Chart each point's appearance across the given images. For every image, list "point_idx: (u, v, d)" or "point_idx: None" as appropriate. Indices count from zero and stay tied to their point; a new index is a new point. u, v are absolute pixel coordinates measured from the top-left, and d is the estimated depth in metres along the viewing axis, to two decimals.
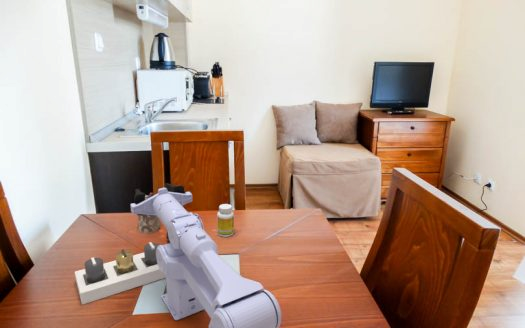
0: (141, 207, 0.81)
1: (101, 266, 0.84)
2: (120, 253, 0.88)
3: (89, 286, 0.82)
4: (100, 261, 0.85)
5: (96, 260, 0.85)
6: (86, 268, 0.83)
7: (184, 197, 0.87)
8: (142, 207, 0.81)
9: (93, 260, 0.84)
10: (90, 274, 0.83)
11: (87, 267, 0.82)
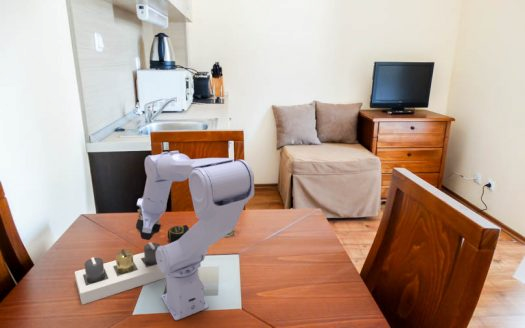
0: (147, 221, 0.83)
1: (101, 266, 0.84)
2: (120, 253, 0.88)
3: (89, 286, 0.82)
4: (100, 261, 0.85)
5: (96, 260, 0.85)
6: (86, 268, 0.83)
7: None
8: (148, 220, 0.83)
9: (93, 260, 0.84)
10: (90, 274, 0.83)
11: (87, 267, 0.82)
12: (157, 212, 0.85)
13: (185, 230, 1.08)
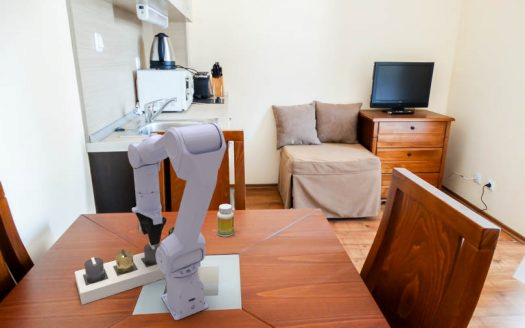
0: (154, 214, 0.84)
1: (101, 266, 0.84)
2: (120, 253, 0.88)
3: (89, 286, 0.82)
4: (100, 261, 0.85)
5: (96, 260, 0.85)
6: (86, 268, 0.83)
7: None
8: (153, 214, 0.84)
9: (93, 260, 0.84)
10: (90, 274, 0.83)
11: (87, 267, 0.82)
12: (156, 206, 0.87)
13: None
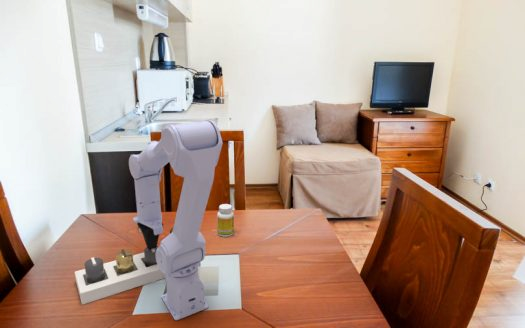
0: (154, 225, 0.85)
1: (101, 266, 0.84)
2: (120, 253, 0.88)
3: (89, 286, 0.82)
4: (100, 261, 0.85)
5: (96, 260, 0.85)
6: (86, 268, 0.83)
7: None
8: (154, 224, 0.85)
9: (93, 260, 0.84)
10: (90, 274, 0.83)
11: (87, 267, 0.82)
12: (157, 216, 0.88)
13: None
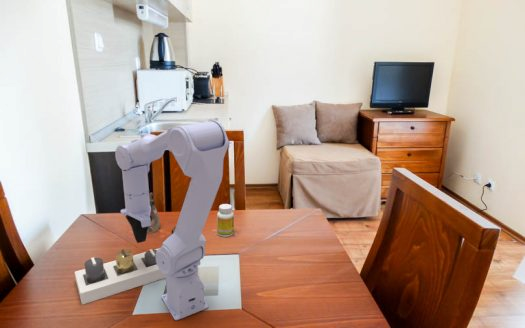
0: (142, 217, 0.83)
1: (101, 266, 0.84)
2: (120, 253, 0.88)
3: (89, 286, 0.82)
4: (100, 261, 0.85)
5: (96, 260, 0.85)
6: (86, 268, 0.83)
7: None
8: (142, 216, 0.83)
9: (93, 260, 0.84)
10: (90, 274, 0.83)
11: (87, 267, 0.82)
12: (146, 209, 0.85)
13: None
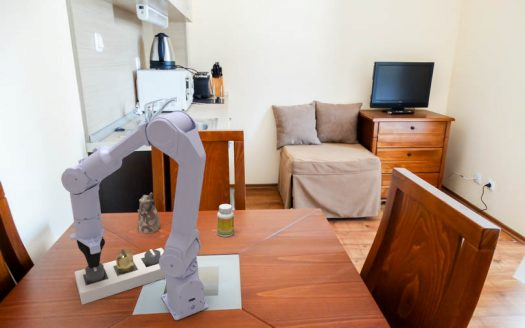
0: (92, 243, 0.78)
1: (102, 271, 0.84)
2: (120, 253, 0.88)
3: (89, 286, 0.82)
4: (101, 266, 0.85)
5: None
6: (87, 273, 0.83)
7: None
8: (92, 242, 0.78)
9: None
10: (91, 279, 0.83)
11: (88, 272, 0.83)
12: (97, 233, 0.80)
13: None
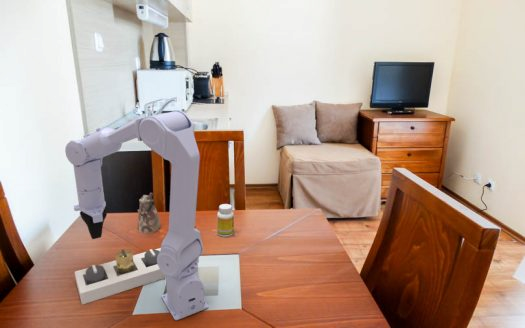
0: (94, 213, 0.82)
1: (102, 273, 0.85)
2: (120, 253, 0.88)
3: (89, 286, 0.82)
4: (101, 268, 0.85)
5: (97, 267, 0.86)
6: (87, 276, 0.83)
7: None
8: (94, 212, 0.82)
9: (94, 268, 0.85)
10: (91, 281, 0.83)
11: (88, 275, 0.83)
12: (99, 204, 0.85)
13: None
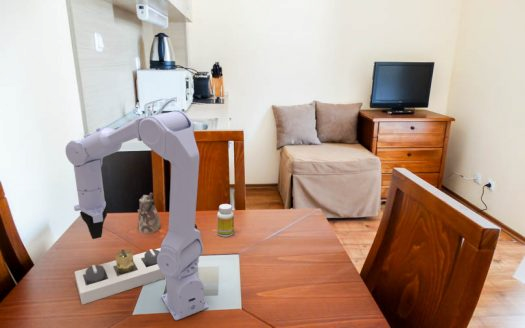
0: (94, 212, 0.82)
1: (102, 273, 0.85)
2: (120, 253, 0.88)
3: (89, 286, 0.82)
4: (101, 268, 0.85)
5: (97, 267, 0.86)
6: (87, 276, 0.83)
7: None
8: (94, 212, 0.82)
9: (94, 268, 0.85)
10: (91, 281, 0.83)
11: (88, 275, 0.83)
12: (99, 204, 0.85)
13: None
